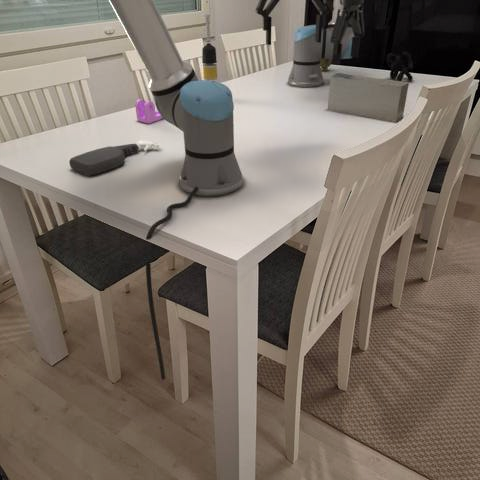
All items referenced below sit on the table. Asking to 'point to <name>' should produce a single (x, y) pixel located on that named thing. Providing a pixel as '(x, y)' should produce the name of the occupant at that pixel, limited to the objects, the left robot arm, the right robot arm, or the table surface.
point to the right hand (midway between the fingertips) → (345, 60)
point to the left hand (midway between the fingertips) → (293, 43)
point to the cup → (325, 64)
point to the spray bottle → (106, 157)
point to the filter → (209, 57)
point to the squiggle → (399, 66)
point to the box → (367, 97)
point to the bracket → (146, 111)
